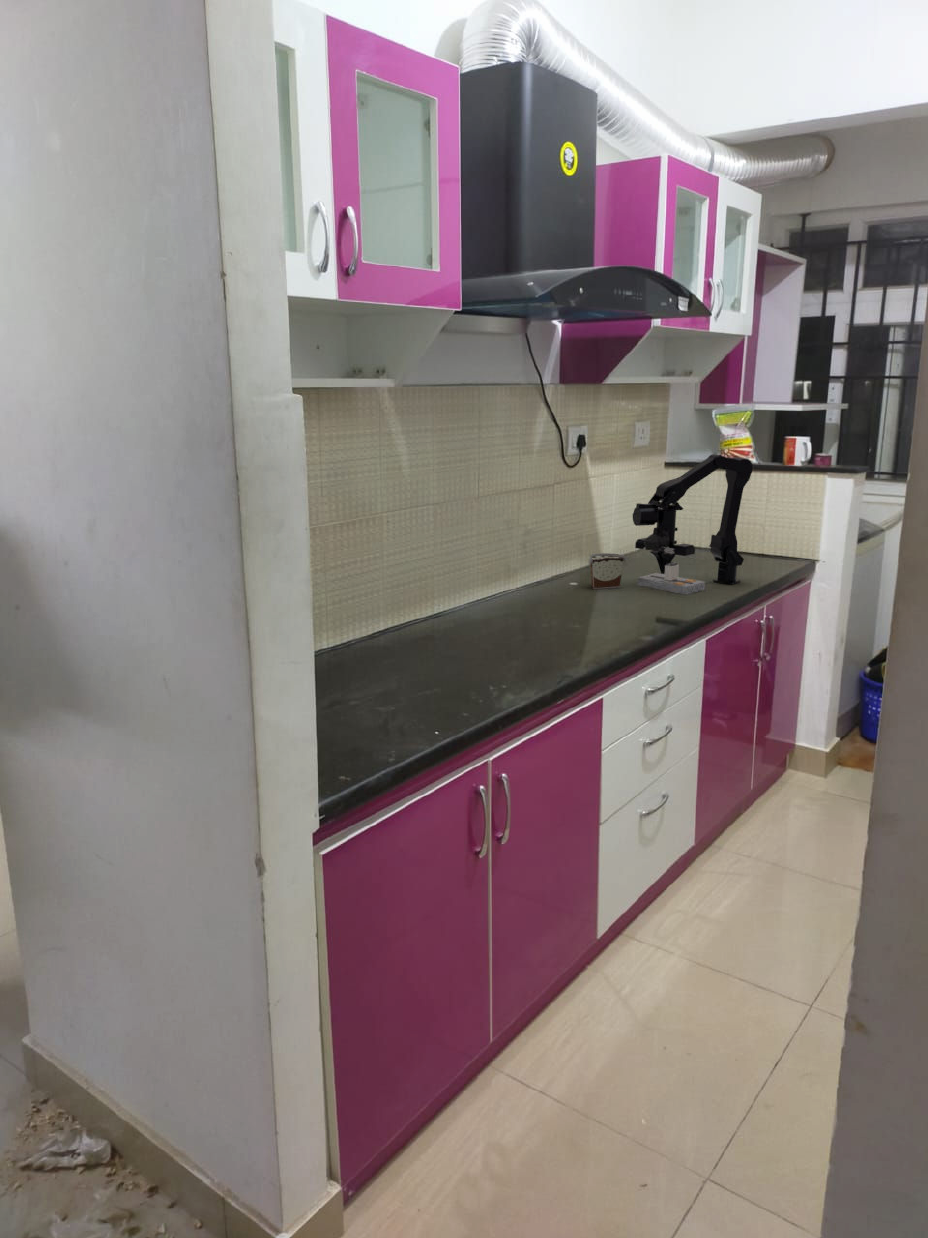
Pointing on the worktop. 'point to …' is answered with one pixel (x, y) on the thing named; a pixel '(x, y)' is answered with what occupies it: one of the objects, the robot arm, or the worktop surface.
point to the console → (671, 584)
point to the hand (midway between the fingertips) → (663, 573)
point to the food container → (606, 570)
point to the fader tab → (671, 571)
